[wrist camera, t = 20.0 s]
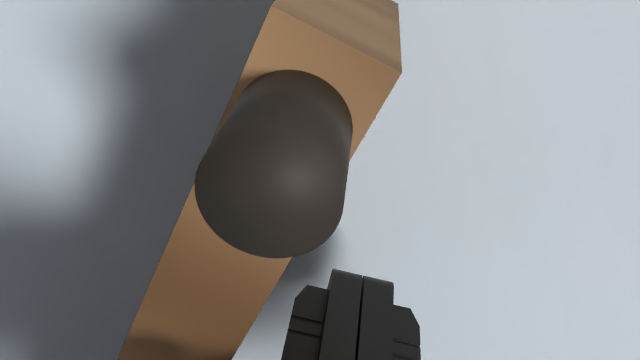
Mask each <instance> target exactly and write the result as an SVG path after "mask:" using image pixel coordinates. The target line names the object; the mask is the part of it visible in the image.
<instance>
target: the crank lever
mask: <svg viewBox="0 0 640 360" xmlns="http://www.w3.org/2000/svg"><path fill="white" fill-rule="evenodd" d="M401 73H402V66H401V48H400V29H399V11H398V4H397V3H395V2H393V1H392V0H275V1H274V2H273V4H272V5H271V7H270V9H269V12H268V14H267V16H266V18H265V21H264V23H263V25H262V28H261V30H260V32H259V35H258V37H257V39H256V41H255V44H254V46H253V48H252V51H251V53H250V55H249V58H248V60H247V62H246V64H245V67H244V69H243V71H242V74H241V76H240V78H239V80H238V83H237V85H236V87H235V90H234V92H233V94H232V97H231V99H230V101H229V103H228V106H227V108H226V110H225V113H224V115H223V117H222V119H221V122H220V124H219V126H218V129H217V131H216V133H215V136H214V138H213V140H212V142H211V145H210V147H209V149H208V150H207V152H206V154H205V155H204V157H203V159H202V161H201V163H200V165H199V167H198V170H197V173H196V177H195V181H194V184H193V186H192V188H191V191H190V193H189V195H188V197H187V200H186V202H185V204H184V207H183V209H182V211H181V214H180V216H179V218H178V220H177V223H176V225H175V227H174V230H173V232H172V234H171V236H170V239H169V241H168V243H167V246H166V248H165V250H164V253H163V255H162V257H161V259H160V262H159V264H158V266H157V269H156V271H155V273H154V275H153V278H152V280H151V282H150V285H149V287H148V289H147V292H146V294H145V296H144V298H143V301H142V303H141V305H140V308H139V310H138V312H137V314H136V317H135V319H134V321H133V324H132V326H131V328H130V331H129V333H128V335H127V337H126V340H125V342H124V344H123V347H122V349H121V351H120V354H119V356H118V358H117V360H231V359H232V358H233V356H234V354H235V353H236V351H237V349H238V348H239V346H240V344H241V343H242V341H243V339H244V337H245V336H246V334H247V332H248V331H249V329H250V327H251V326H252V324H253V322H254V321H255V319H256V317H257V316H258V314H259V312H260V311H261V309H262V307H263V305H264V304H265V302H266V300H267V299H268V297H269V295H270V294H271V292H272V290H273V289H274V287H275V285H276V284H277V282H278V280H279V279H280V277H281V275H282V273H283V272H284V270H285V268H286V267H287V265H288V263H289V262H290V260H291V258H292V257H295V256H298V255H302V254H305V253H307V252H310V251H312V250H313V249H315V248H317V247H319V246H320V245H321V244H323V243H324V242H325V241H326V240H327V239H328V238H329V237H330V236H331V235H332V233H333V232H334V231H335V229H336V227H337V226H338V224H339V222H340V219H341V216H342V212H343V206H344V198H345V190H346V182H347V174H348V166H349V161H350V159H351V157H352V156H353V154H354V152H355V151H356V149H357V147H358V146H359V144H360V142H361V141H362V139H363V137H364V135H365V134H366V132H367V130H368V129H369V127H370V125H371V124H372V122H373V120H374V119H375V117H376V115H377V114H378V112H379V110H380V109H381V107H382V105H383V103H384V102H385V100H386V98H387V97H388V95H389V93H390V92H391V90H392V88H393V87H394V85H395V83H396V82H397V80H398V78H399V77H400V75H401Z"/></svg>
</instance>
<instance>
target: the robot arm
mask: <svg viewBox="0 0 640 360" xmlns="http://www.w3.org/2000/svg"><path fill="white" fill-rule="evenodd" d="M393 294H394V285H393V282H389V281H384V280H380V279H376V278H371V277H367V276H363V278H362V275H358V274H353V273H349V272H345V271H340V270H336V269H333V270H332V273H331V276H330V280H329V284H328V287H327V289H323V288H318V287H314V286H310V285H307V286H306V287H305V288H304V289H303V290H302V291H301V292H300V293H299V295H298V296H297V297H296V298H295V302H294V306H293V310H292V315H291V319H290V323H289V328H288V332H287V336H286V341H285V345H284V349H283V354H282V358H281V360H421V355H420V326H419V324H418V323H417V321H416V319H415V317H414V315H413V313H412V311H411V309H410V308H405V307H401V306H397V305H393Z"/></svg>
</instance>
